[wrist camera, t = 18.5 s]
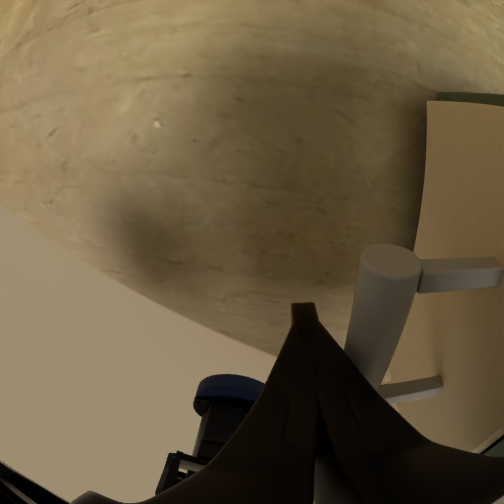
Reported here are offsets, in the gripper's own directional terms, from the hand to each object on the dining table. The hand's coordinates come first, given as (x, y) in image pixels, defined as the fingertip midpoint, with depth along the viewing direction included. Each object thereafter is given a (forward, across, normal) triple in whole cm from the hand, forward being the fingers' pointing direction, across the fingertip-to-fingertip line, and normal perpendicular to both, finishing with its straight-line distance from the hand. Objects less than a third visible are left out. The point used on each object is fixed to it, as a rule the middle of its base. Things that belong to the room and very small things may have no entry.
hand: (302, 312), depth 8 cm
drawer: (+3, -10, 0) cm, 10 cm away
